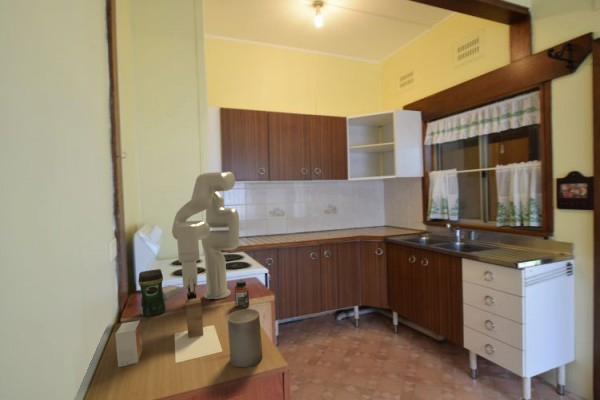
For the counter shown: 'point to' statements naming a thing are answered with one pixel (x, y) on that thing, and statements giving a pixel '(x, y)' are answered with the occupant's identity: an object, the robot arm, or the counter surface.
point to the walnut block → (194, 317)
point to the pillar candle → (244, 337)
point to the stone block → (170, 291)
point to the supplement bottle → (241, 294)
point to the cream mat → (196, 344)
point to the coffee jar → (151, 292)
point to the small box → (128, 343)
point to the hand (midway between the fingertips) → (192, 303)
